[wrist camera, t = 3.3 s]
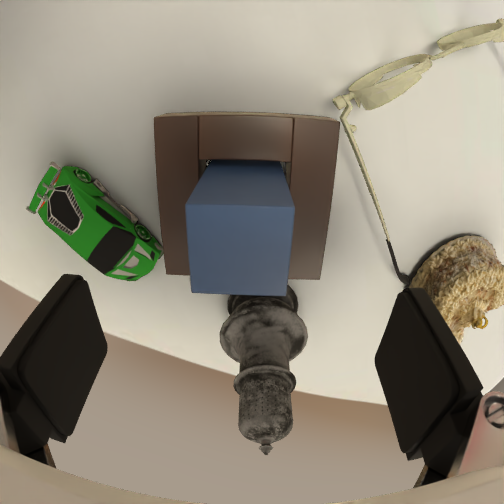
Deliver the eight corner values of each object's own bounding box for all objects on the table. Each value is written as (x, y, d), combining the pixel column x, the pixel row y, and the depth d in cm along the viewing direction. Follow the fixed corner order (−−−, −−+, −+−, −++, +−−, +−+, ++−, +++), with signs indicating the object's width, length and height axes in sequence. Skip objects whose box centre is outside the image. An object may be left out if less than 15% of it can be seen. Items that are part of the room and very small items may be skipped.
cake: (378, 304, 24) (397, 352, 19) (458, 207, 19) (499, 241, 15) (442, 342, 26) (462, 383, 21) (510, 267, 21) (541, 301, 17)
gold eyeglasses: (489, 17, 12) (535, 12, 8) (542, 187, 18) (578, 210, 13) (302, 109, 17) (318, 117, 12) (400, 287, 23) (424, 329, 18)
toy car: (172, 247, 21) (164, 264, 19) (135, 284, 23) (125, 303, 21) (69, 151, 18) (51, 159, 16) (41, 199, 19) (24, 211, 17)
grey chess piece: (211, 286, 23) (184, 436, 12) (290, 264, 22) (314, 417, 11) (239, 341, 25) (233, 477, 15) (309, 323, 24) (333, 462, 14)
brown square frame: (174, 255, 22) (165, 274, 19) (165, 113, 17) (153, 117, 15) (313, 259, 22) (320, 280, 19) (329, 117, 17) (340, 121, 15)
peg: (213, 218, 20) (191, 293, 13) (212, 157, 18) (184, 203, 11) (276, 220, 20) (286, 297, 13) (279, 159, 18) (295, 207, 11)
